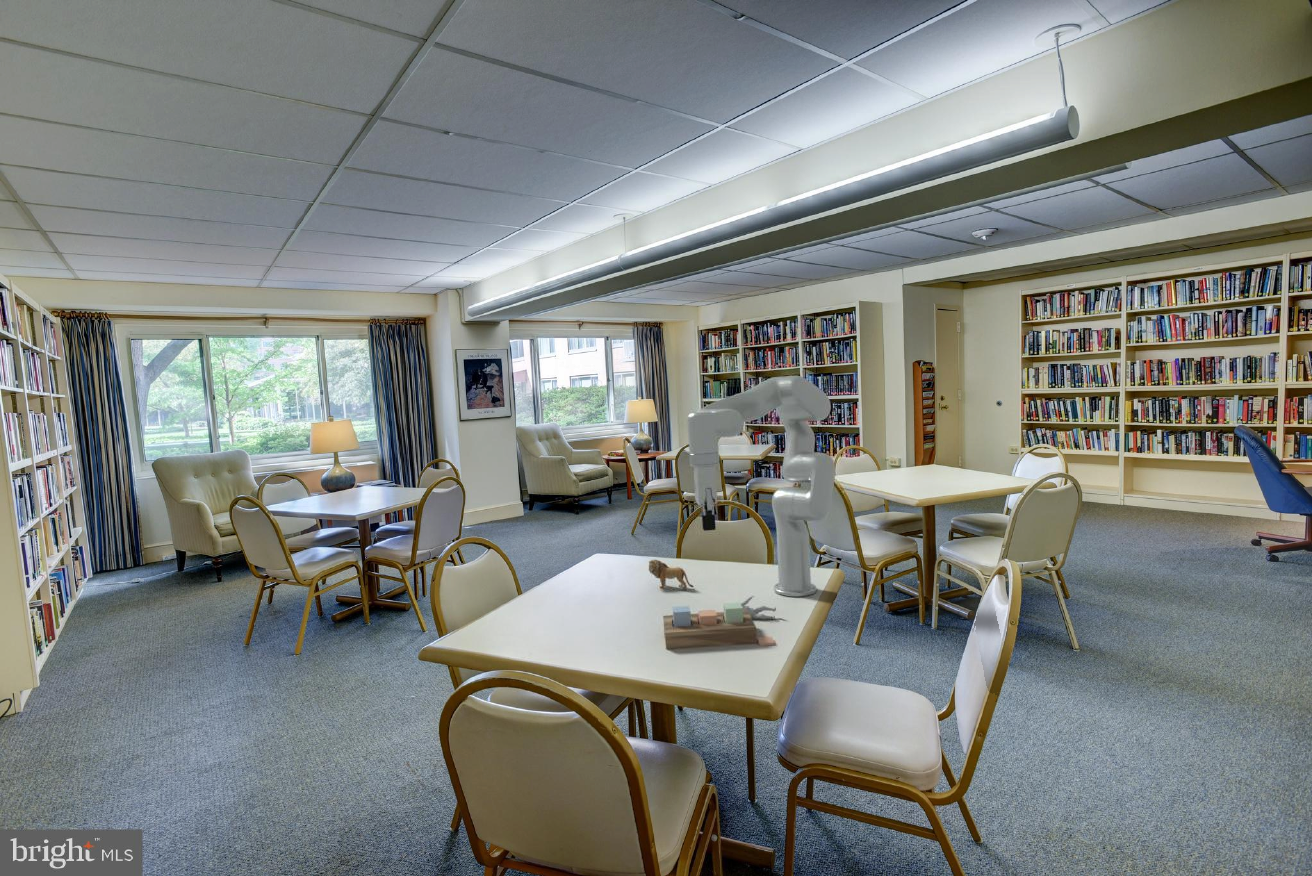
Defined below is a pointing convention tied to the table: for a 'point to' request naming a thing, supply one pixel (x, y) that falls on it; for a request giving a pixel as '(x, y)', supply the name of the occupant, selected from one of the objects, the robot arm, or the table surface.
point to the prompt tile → (765, 641)
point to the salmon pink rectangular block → (707, 617)
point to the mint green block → (733, 613)
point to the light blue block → (681, 616)
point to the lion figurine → (667, 573)
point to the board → (709, 632)
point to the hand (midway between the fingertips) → (709, 529)
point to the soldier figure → (757, 610)
